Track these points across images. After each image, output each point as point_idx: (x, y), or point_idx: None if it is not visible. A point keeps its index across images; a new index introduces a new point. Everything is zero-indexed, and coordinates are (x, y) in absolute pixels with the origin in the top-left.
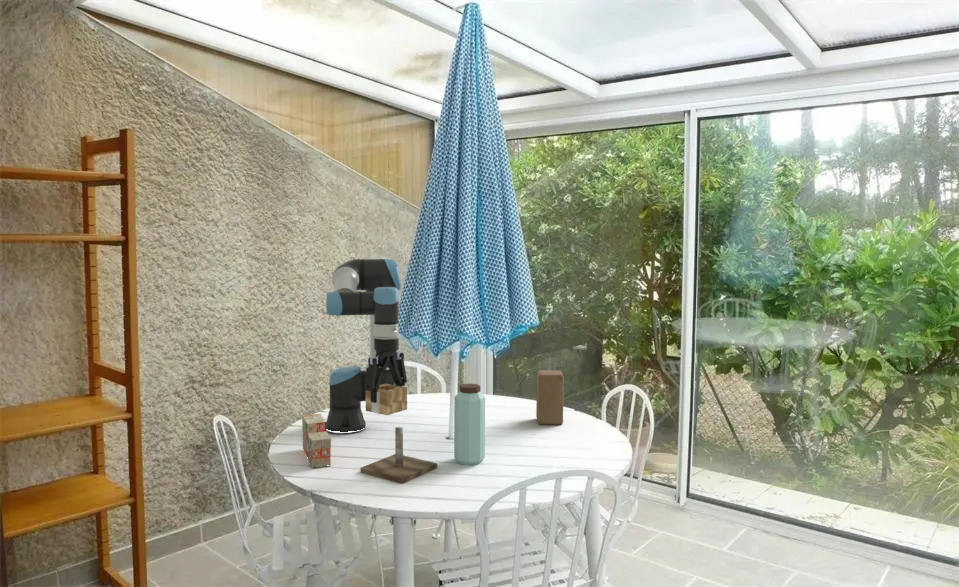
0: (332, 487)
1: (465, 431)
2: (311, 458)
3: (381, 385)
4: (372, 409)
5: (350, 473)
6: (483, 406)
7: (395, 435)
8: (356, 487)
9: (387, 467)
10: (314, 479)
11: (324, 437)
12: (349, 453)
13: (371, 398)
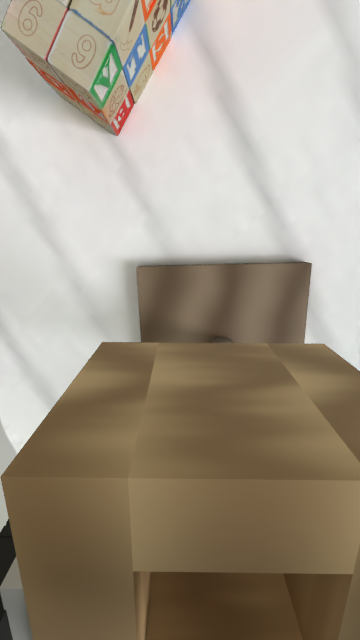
0: (8, 289)
1: None
2: (43, 77)
3: (339, 515)
4: None
5: (114, 246)
6: None
7: None
8: (53, 339)
9: (188, 332)
10: (7, 194)
11: (77, 45)
12: (262, 74)
13: (4, 538)
